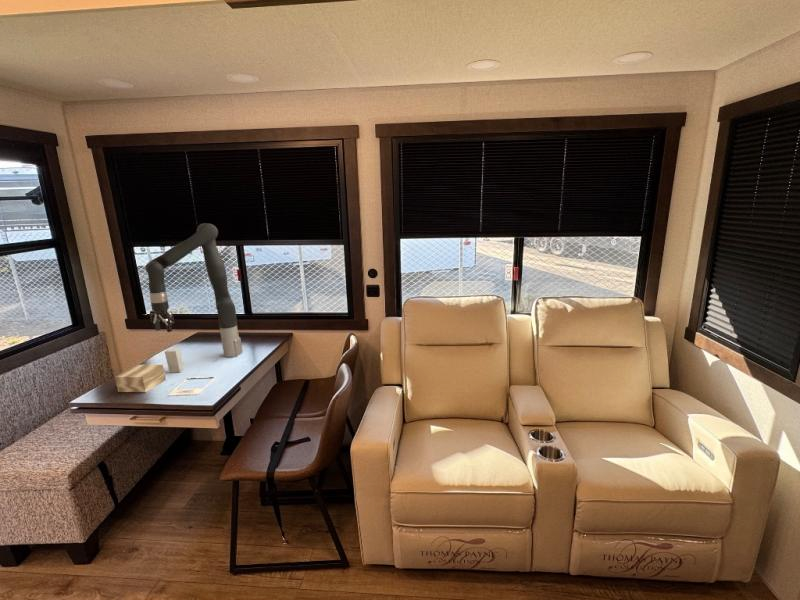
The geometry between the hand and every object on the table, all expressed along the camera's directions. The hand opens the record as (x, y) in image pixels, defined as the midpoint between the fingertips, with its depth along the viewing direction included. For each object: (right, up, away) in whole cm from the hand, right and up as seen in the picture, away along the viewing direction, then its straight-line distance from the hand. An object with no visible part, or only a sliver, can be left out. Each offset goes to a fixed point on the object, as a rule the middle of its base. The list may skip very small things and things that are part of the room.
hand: (163, 331), depth 202 cm
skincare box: (+4, -22, +4) cm, 23 cm away
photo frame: (+23, -26, -14) cm, 38 cm away
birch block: (-3, -26, -12) cm, 29 cm away
